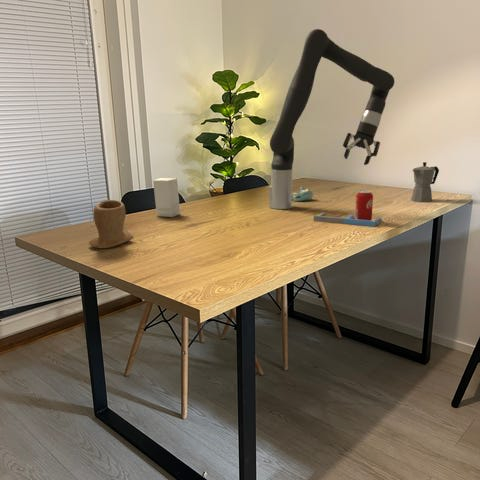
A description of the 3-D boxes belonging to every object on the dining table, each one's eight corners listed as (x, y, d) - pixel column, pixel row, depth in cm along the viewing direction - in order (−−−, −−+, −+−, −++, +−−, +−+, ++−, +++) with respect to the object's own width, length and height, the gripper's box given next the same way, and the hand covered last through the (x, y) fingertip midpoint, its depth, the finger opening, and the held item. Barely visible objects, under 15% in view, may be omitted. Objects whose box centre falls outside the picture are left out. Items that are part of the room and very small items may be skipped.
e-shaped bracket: (313, 220, 186) (313, 215, 185) (322, 215, 195) (322, 210, 195) (374, 226, 175) (375, 221, 175) (381, 220, 185) (381, 215, 184)
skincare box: (180, 214, 201) (178, 178, 196) (171, 217, 195) (169, 180, 191) (163, 213, 204) (161, 177, 200) (155, 216, 198) (152, 179, 194)
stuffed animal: (288, 187, 233) (312, 183, 229) (291, 201, 235) (315, 197, 231) (284, 190, 223) (309, 186, 219) (287, 205, 225) (312, 201, 221)
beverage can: (372, 224, 179) (373, 192, 176) (355, 223, 181) (356, 192, 177) (371, 220, 185) (372, 190, 182) (354, 219, 187) (356, 189, 183)
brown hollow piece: (108, 253, 148) (103, 206, 144) (84, 247, 155) (79, 202, 151) (143, 241, 160) (140, 198, 156) (119, 237, 167) (116, 195, 163)
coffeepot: (417, 203, 215) (421, 164, 210) (403, 200, 224) (406, 162, 219) (443, 200, 221) (447, 162, 216) (428, 197, 229) (431, 160, 224)
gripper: (350, 117, 191) (337, 155, 194) (384, 126, 185) (369, 166, 188) (355, 120, 198) (341, 157, 201) (387, 129, 192) (373, 167, 195)
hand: (355, 161), depth 195 cm, fingers open, 8 cm apart
